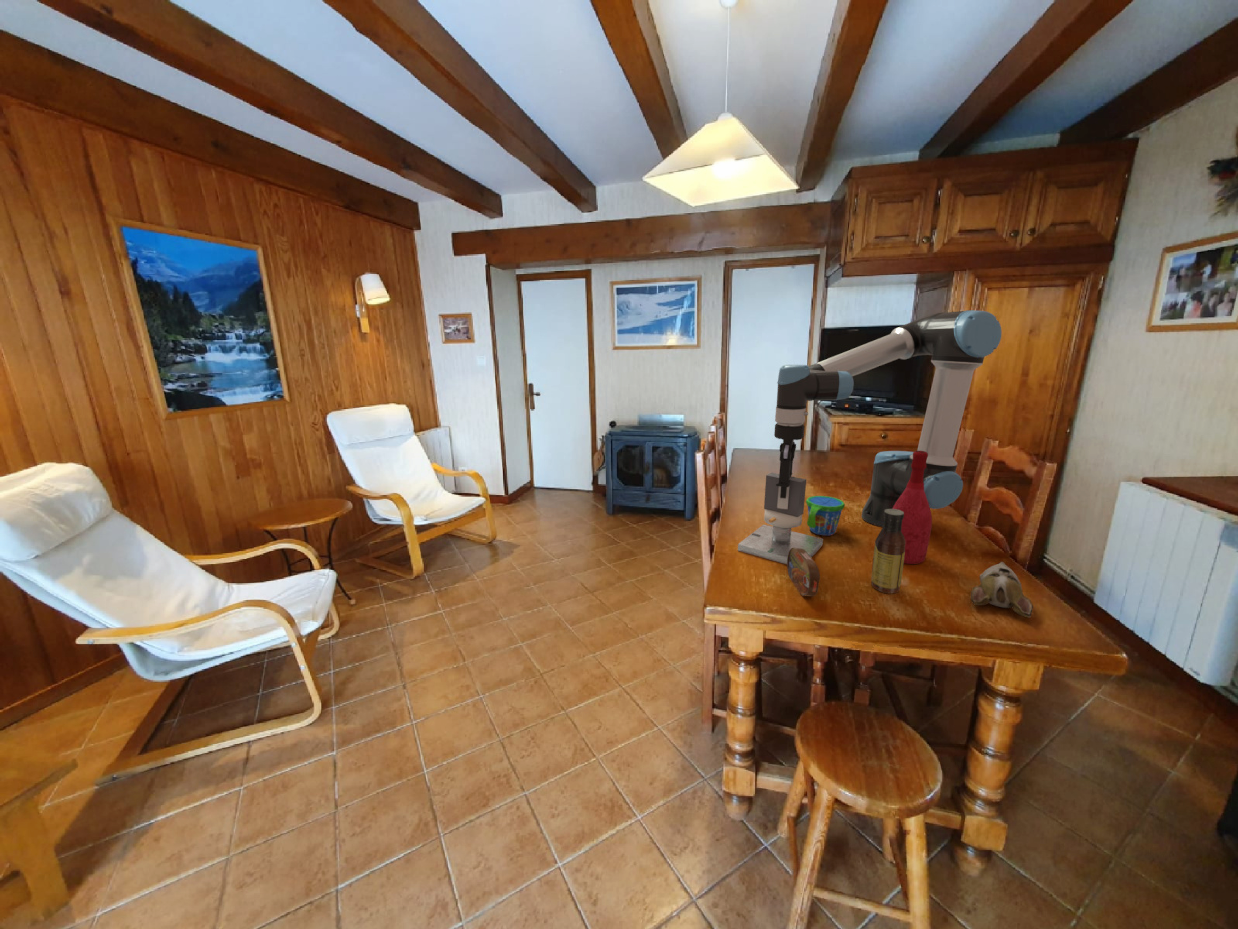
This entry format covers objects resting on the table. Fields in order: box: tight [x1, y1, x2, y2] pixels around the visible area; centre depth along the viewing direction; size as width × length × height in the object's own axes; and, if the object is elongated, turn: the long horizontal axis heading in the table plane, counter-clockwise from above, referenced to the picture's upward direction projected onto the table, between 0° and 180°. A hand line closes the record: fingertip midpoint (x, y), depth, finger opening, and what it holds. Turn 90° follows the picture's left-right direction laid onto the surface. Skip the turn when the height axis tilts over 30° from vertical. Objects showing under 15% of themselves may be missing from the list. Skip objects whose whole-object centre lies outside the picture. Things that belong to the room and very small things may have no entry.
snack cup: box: [805, 495, 846, 537], centre depth 144 cm, size 16×10×10 cm
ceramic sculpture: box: [970, 561, 1034, 619], centre depth 104 cm, size 11×9×15 cm
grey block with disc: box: [763, 472, 807, 529], centre depth 130 cm, size 12×10×13 cm
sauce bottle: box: [870, 509, 906, 594], centre depth 110 cm, size 7×6×20 cm
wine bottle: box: [892, 450, 933, 565], centre depth 123 cm, size 10×10×30 cm
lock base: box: [737, 524, 824, 565], centre depth 134 cm, size 18×18×8 cm
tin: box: [786, 548, 821, 597], centre depth 113 cm, size 15×3×8 cm, turn 178°
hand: (783, 504), depth 131 cm, fingers closed on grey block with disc, 5 cm apart
